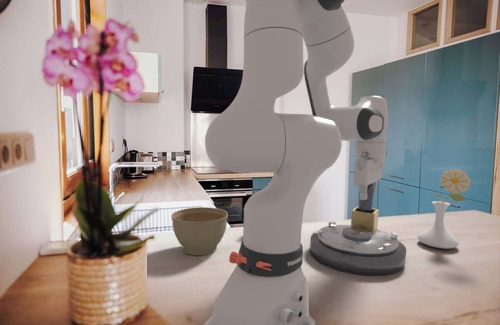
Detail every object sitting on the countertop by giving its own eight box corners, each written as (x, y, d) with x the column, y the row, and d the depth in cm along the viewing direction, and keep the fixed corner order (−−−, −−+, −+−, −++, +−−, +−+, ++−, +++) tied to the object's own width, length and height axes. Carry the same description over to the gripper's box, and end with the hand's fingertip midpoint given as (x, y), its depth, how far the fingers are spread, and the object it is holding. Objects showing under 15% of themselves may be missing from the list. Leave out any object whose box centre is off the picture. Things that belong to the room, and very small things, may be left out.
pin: (368, 232, 99) (372, 185, 98) (355, 229, 101) (358, 184, 100) (371, 228, 103) (375, 184, 101) (358, 226, 105) (361, 182, 103)
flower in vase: (412, 245, 105) (419, 167, 102) (422, 236, 114) (428, 164, 111) (461, 256, 97) (469, 171, 94) (467, 246, 105) (475, 168, 102)
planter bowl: (215, 237, 108) (216, 204, 107) (236, 255, 94) (236, 218, 93) (166, 244, 101) (165, 209, 100) (179, 265, 87) (179, 224, 85)
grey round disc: (390, 263, 80) (392, 233, 79) (305, 243, 92) (306, 217, 91) (404, 237, 99) (406, 213, 98) (332, 224, 111) (333, 202, 110)
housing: (396, 285, 78) (397, 267, 77) (295, 259, 92) (295, 243, 91) (411, 251, 100) (412, 237, 99) (327, 234, 114) (328, 221, 113)
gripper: (372, 153, 89) (369, 204, 90) (388, 150, 106) (385, 193, 107) (349, 152, 92) (346, 201, 94) (367, 149, 109) (365, 191, 111)
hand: (367, 197), depth 100 cm, fingers open, 8 cm apart
